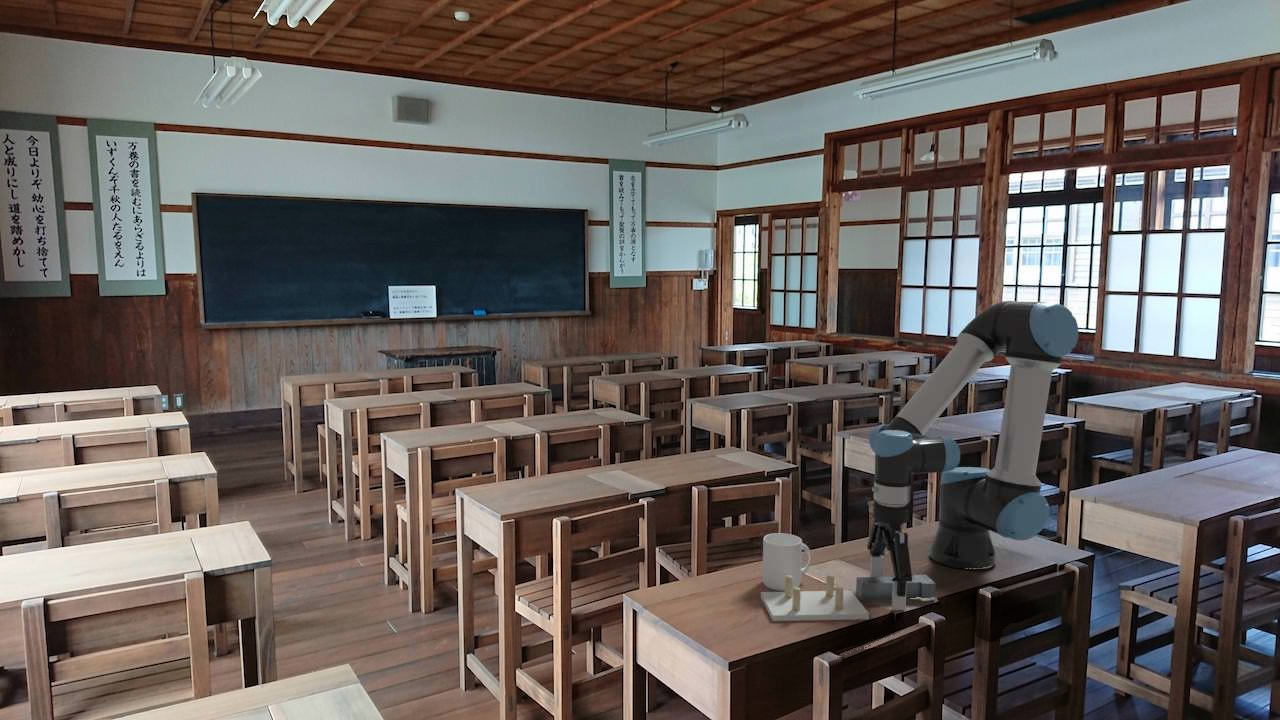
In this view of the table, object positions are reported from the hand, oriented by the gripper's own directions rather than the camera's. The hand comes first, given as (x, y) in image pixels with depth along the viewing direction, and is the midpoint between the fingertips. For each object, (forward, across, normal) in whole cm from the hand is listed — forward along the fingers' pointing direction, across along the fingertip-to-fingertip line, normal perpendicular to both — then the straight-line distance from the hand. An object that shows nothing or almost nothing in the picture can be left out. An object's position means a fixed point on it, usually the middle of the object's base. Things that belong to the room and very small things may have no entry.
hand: (886, 596), depth 175 cm
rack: (0, +5, -18) cm, 18 cm away
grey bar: (0, 0, +2) cm, 2 cm away
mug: (0, -9, -20) cm, 22 cm away
